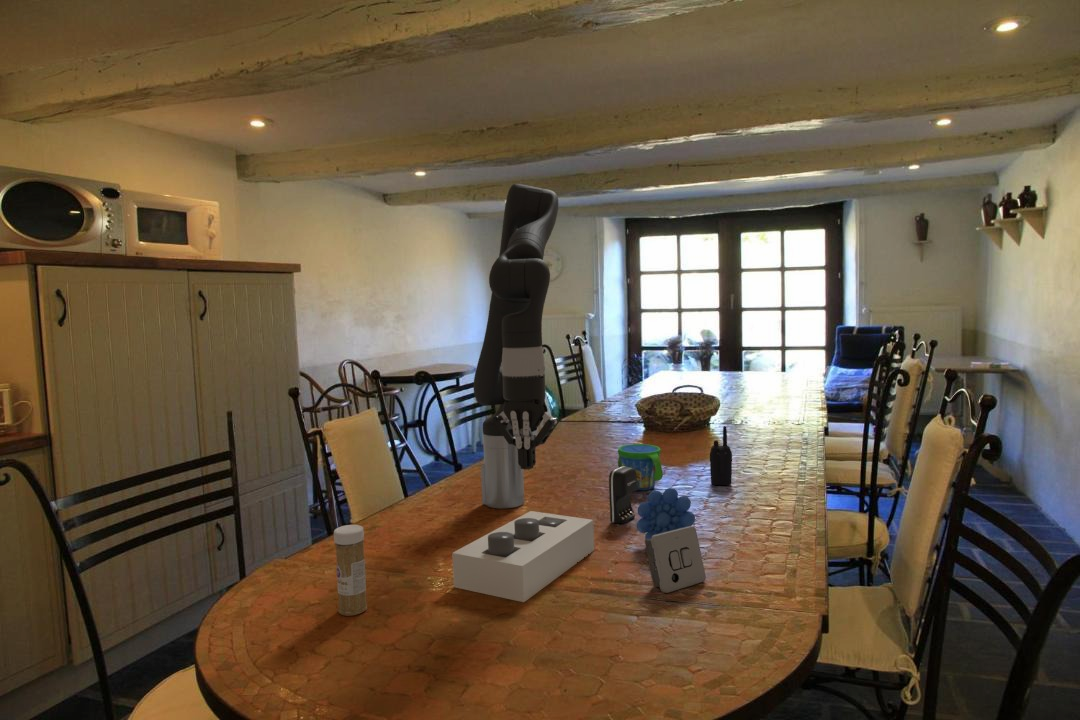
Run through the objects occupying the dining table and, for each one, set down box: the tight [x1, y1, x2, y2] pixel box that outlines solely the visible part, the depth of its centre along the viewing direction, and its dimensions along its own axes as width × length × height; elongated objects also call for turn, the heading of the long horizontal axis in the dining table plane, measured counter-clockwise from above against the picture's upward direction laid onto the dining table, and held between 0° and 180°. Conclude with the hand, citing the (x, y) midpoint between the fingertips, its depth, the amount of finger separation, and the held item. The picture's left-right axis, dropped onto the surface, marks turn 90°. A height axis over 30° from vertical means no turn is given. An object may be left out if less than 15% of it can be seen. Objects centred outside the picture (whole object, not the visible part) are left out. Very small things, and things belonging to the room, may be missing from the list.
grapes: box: [636, 487, 696, 541], centre depth 136 cm, size 12×7×12 cm, turn 61°
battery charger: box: [608, 466, 638, 524], centre depth 154 cm, size 7×4×11 cm, turn 144°
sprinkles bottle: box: [333, 524, 368, 617], centre depth 112 cm, size 5×5×14 cm
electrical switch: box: [644, 525, 707, 594], centre depth 119 cm, size 9×5×9 cm, turn 121°
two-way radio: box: [709, 425, 733, 486], centre depth 179 cm, size 6×4×15 cm
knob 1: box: [488, 532, 514, 558], centre depth 121 cm, size 4×4×5 cm
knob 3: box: [539, 519, 562, 527], centre depth 136 cm, size 4×4×5 cm
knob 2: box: [514, 518, 539, 542], centre depth 128 cm, size 4×4×5 cm
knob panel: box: [451, 510, 595, 603], centre depth 128 cm, size 14×26×6 cm, turn 150°
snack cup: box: [617, 443, 664, 491], centre depth 180 cm, size 16×10×10 cm
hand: (527, 468), depth 127 cm, fingers closed
